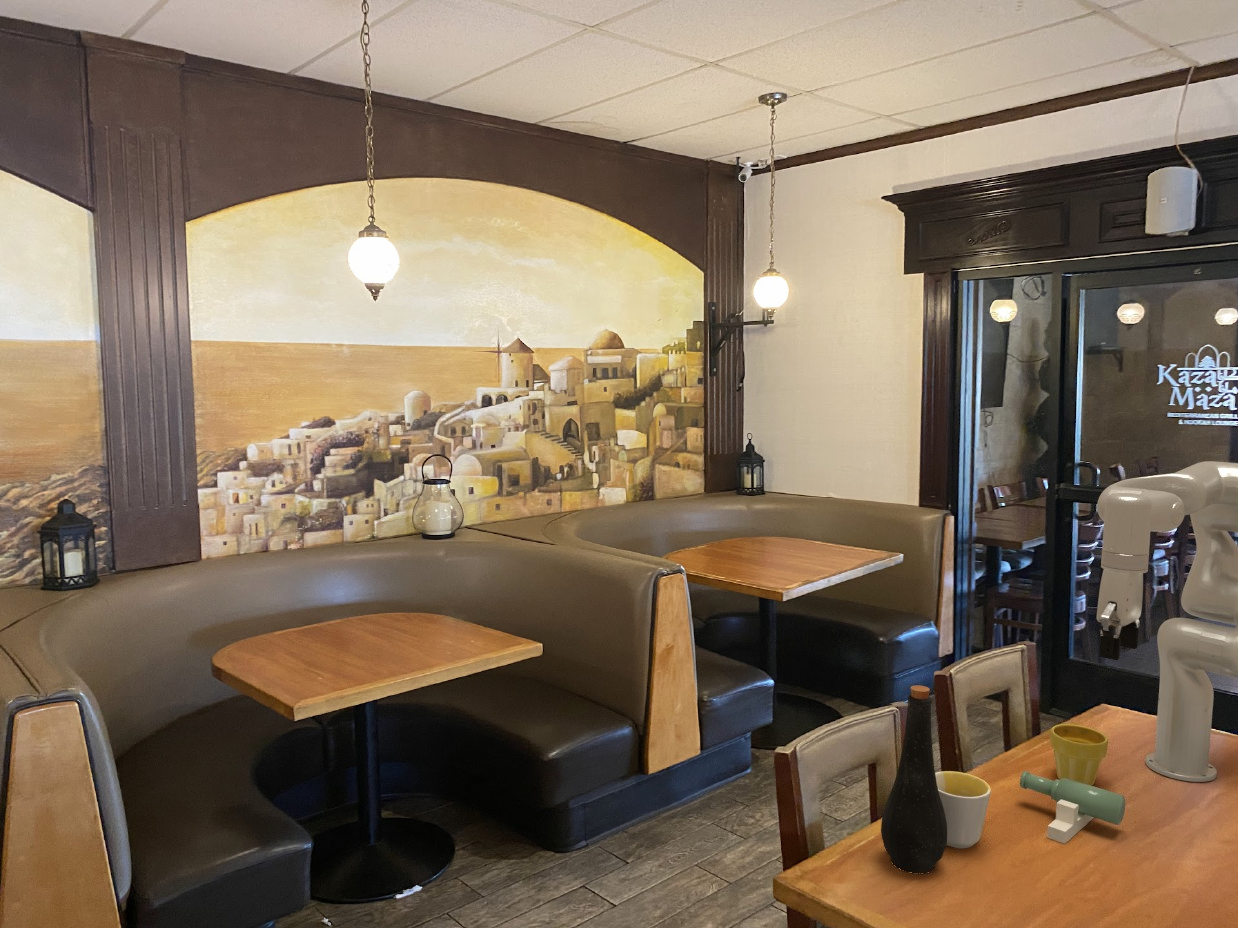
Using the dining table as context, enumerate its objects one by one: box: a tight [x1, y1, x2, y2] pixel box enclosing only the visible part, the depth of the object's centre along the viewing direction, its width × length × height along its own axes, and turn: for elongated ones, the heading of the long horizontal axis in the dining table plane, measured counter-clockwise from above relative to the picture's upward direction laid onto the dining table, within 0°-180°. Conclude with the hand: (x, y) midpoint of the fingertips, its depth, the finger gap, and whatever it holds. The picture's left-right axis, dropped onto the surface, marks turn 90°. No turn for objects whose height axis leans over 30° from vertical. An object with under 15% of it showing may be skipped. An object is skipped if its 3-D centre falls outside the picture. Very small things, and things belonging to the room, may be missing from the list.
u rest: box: [1046, 799, 1094, 845], centre depth 170 cm, size 18×3×5 cm, turn 134°
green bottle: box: [1019, 770, 1126, 826], centre depth 171 cm, size 5×5×17 cm
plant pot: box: [1049, 723, 1109, 786], centre depth 188 cm, size 10×10×10 cm
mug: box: [935, 770, 992, 849], centre depth 164 cm, size 14×10×10 cm
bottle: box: [880, 684, 947, 875], centre depth 155 cm, size 11×11×30 cm
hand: (1118, 652), depth 172 cm, fingers open, 9 cm apart
